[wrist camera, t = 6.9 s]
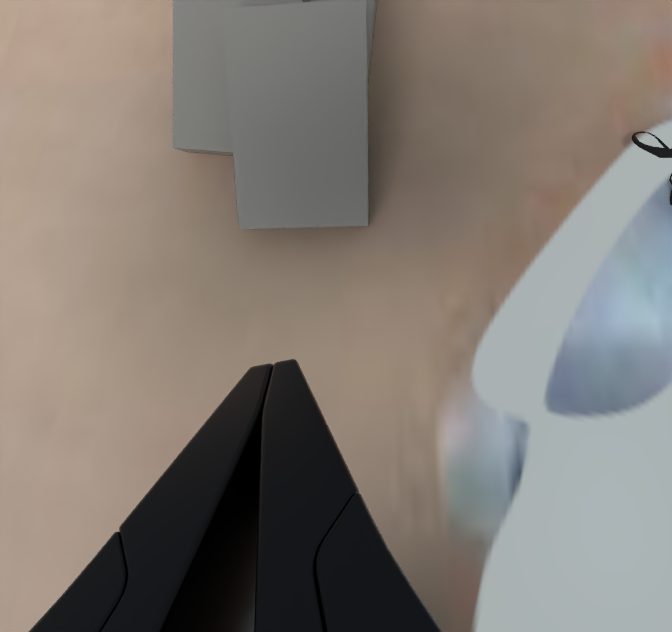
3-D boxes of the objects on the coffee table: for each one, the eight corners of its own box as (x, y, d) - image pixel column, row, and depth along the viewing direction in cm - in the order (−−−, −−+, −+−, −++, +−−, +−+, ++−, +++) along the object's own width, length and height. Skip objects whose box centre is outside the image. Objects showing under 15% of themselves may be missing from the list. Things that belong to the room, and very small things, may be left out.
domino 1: (292, 157, 20) (306, -68, 18) (173, 147, 21) (173, -71, 19) (298, 161, 22) (313, -48, 19) (186, 151, 22) (188, -52, 20)
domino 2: (367, 226, 19) (366, -3, 17) (238, 229, 20) (221, 8, 18) (368, 225, 21) (367, 13, 18) (247, 228, 21) (233, 23, 19)
